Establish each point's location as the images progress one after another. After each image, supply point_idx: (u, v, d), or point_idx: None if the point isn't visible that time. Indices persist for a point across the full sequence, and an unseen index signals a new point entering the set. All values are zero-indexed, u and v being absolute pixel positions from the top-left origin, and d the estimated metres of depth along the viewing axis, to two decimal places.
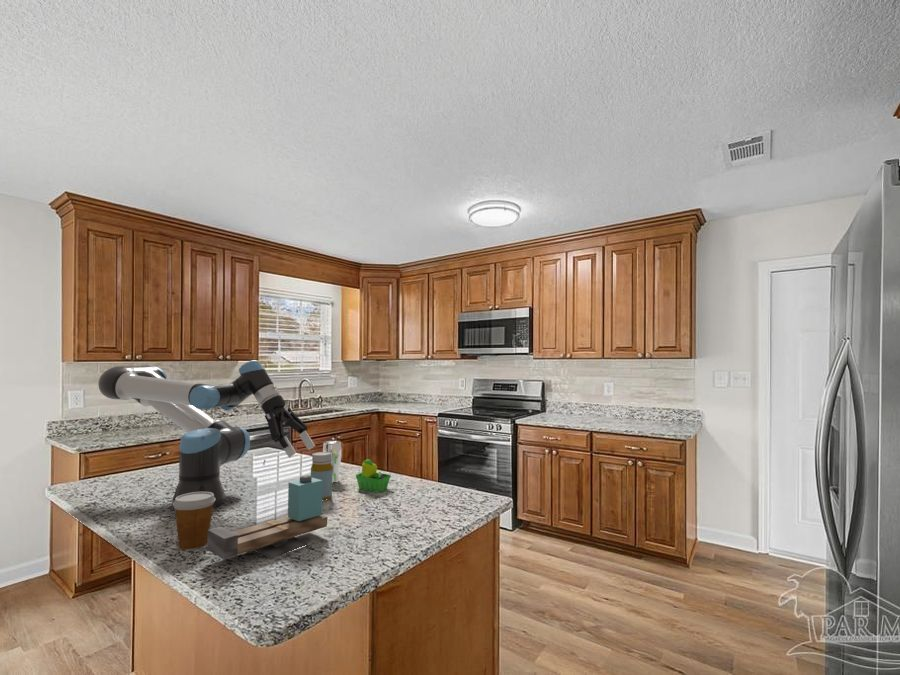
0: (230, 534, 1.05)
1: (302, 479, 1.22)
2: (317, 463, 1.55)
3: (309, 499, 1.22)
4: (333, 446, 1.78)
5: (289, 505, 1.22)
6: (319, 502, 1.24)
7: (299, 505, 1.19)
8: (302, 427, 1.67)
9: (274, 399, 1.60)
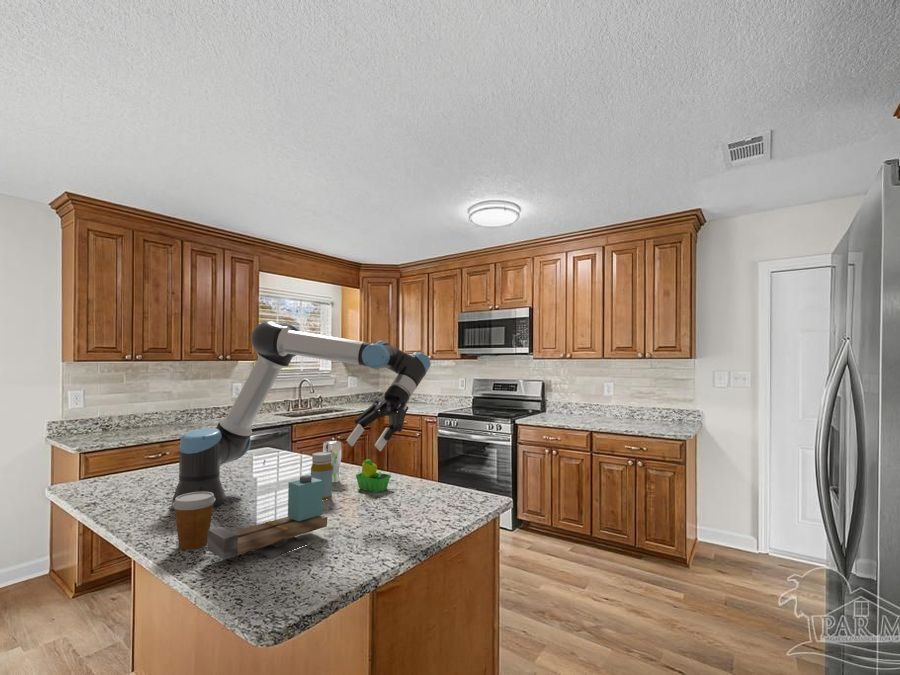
0: (230, 534, 1.05)
1: (302, 479, 1.22)
2: (317, 463, 1.55)
3: (309, 499, 1.22)
4: (333, 446, 1.78)
5: (289, 505, 1.22)
6: (319, 502, 1.24)
7: (299, 505, 1.19)
8: None
9: (407, 400, 1.50)
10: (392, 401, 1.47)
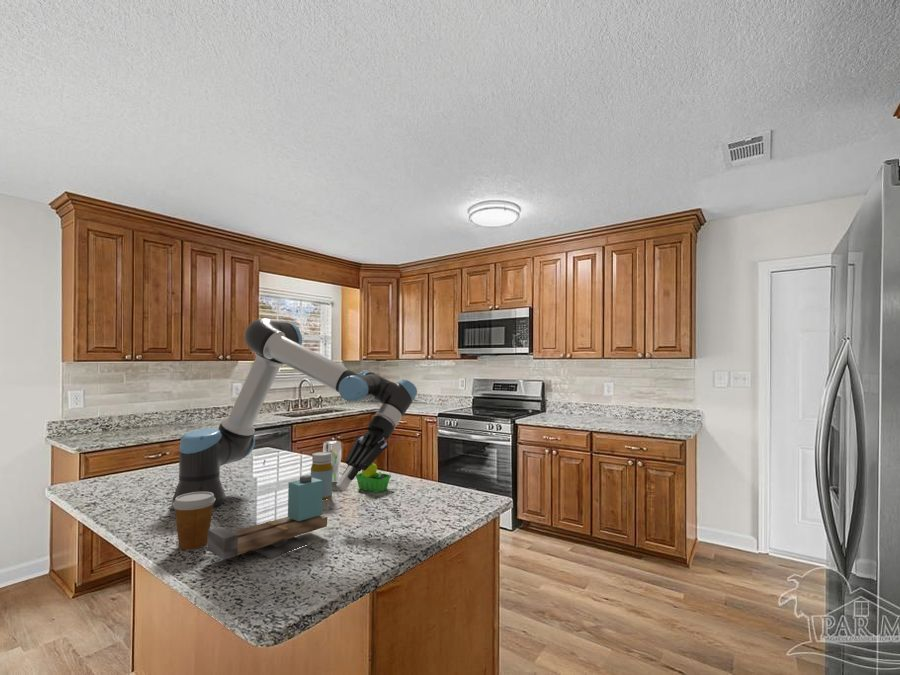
0: (230, 534, 1.05)
1: (302, 479, 1.22)
2: (317, 463, 1.55)
3: (309, 499, 1.22)
4: (333, 446, 1.78)
5: (289, 505, 1.22)
6: (319, 502, 1.24)
7: (299, 505, 1.19)
8: None
9: None
10: (376, 433, 1.41)
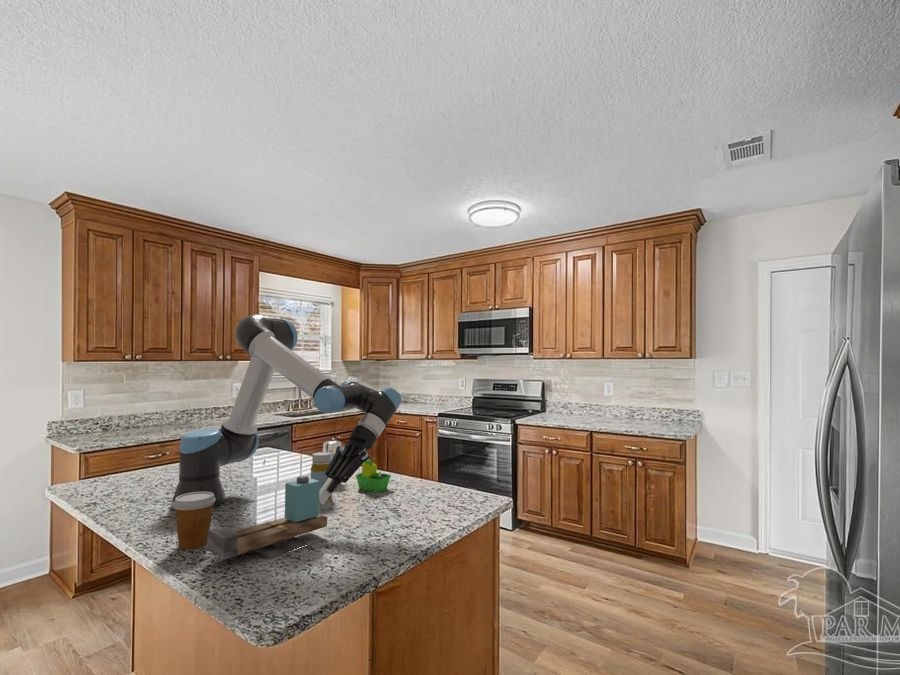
0: (230, 534, 1.05)
1: (299, 480, 1.22)
2: (317, 463, 1.55)
3: (306, 500, 1.21)
4: (333, 446, 1.78)
5: (286, 506, 1.21)
6: (316, 503, 1.23)
7: (296, 505, 1.19)
8: None
9: None
10: (357, 443, 1.36)
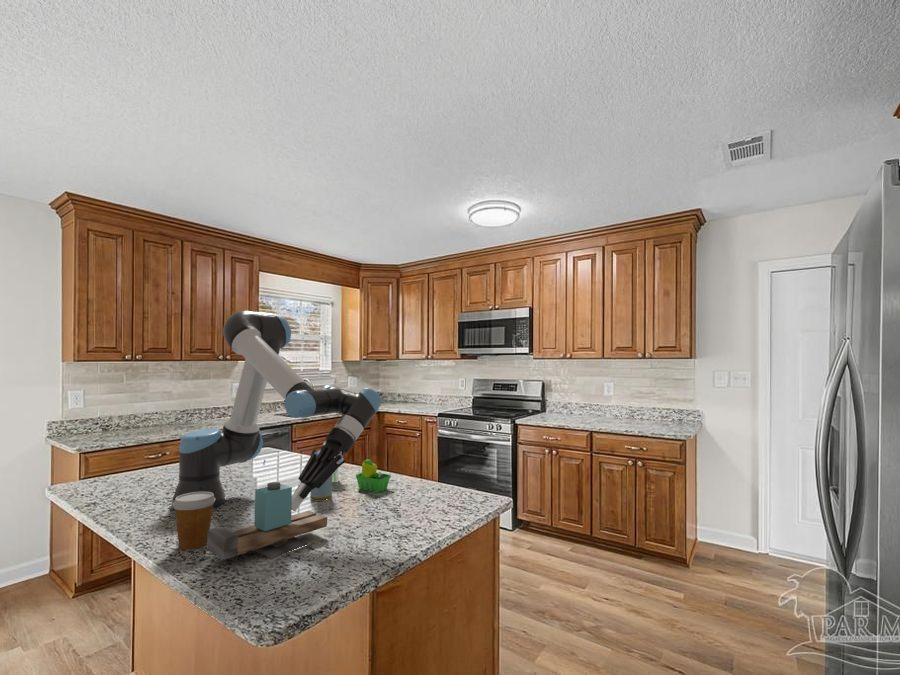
0: (230, 534, 1.05)
1: (270, 486, 1.15)
2: None
3: (276, 507, 1.15)
4: None
5: (256, 514, 1.15)
6: (288, 510, 1.17)
7: (266, 513, 1.12)
8: None
9: (352, 445, 1.32)
10: (333, 446, 1.30)
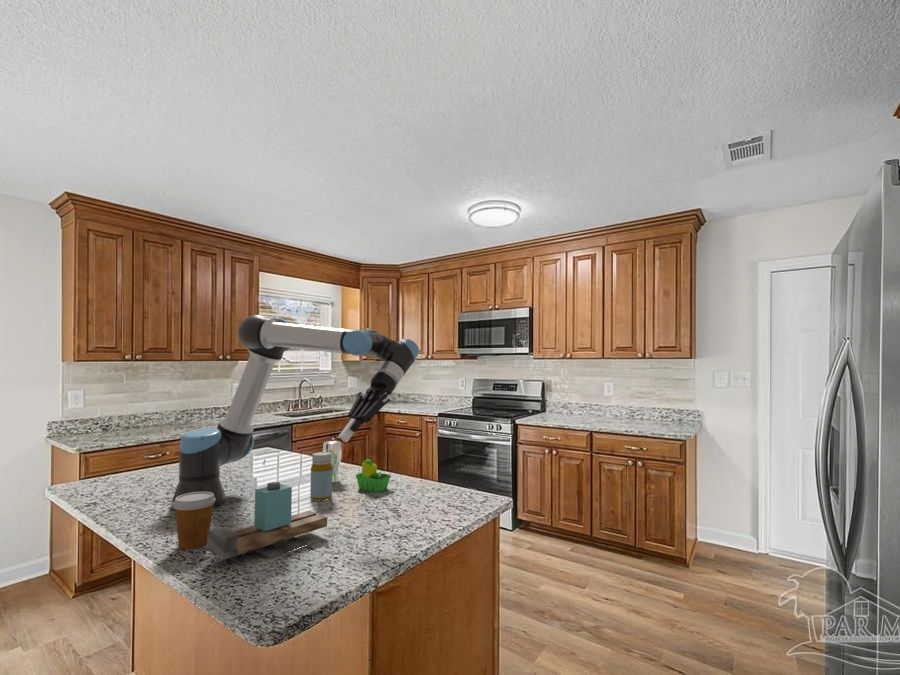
0: (230, 534, 1.05)
1: (269, 486, 1.15)
2: (317, 463, 1.55)
3: (276, 507, 1.15)
4: (333, 446, 1.78)
5: (256, 514, 1.15)
6: (288, 510, 1.17)
7: (266, 513, 1.12)
8: None
9: (394, 388, 1.46)
10: (378, 388, 1.43)
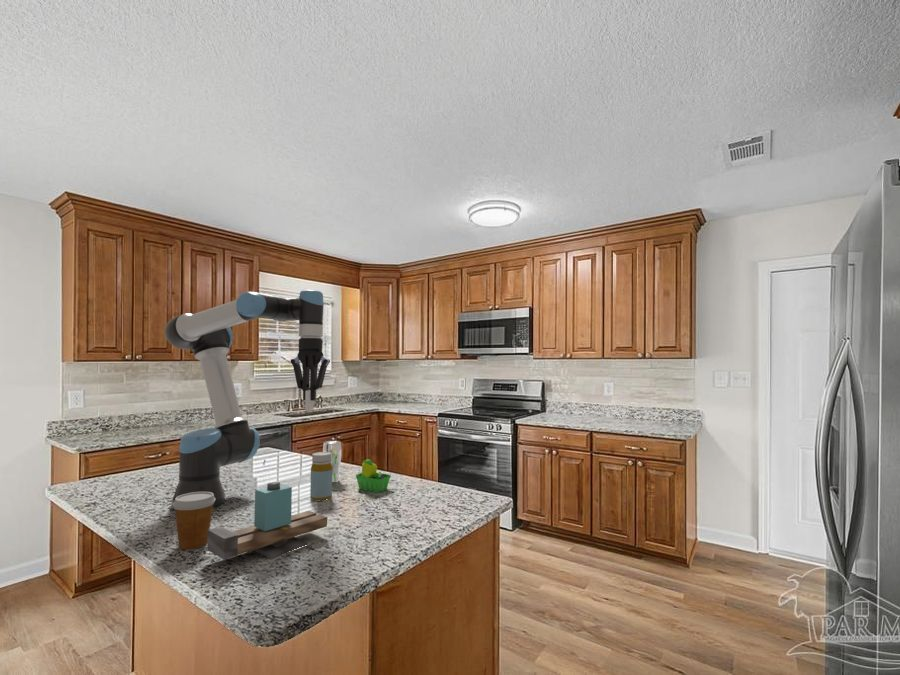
0: (230, 534, 1.05)
1: (269, 486, 1.15)
2: (317, 463, 1.55)
3: (276, 507, 1.15)
4: (333, 446, 1.78)
5: (256, 514, 1.15)
6: (288, 510, 1.17)
7: (266, 513, 1.12)
8: (308, 384, 1.53)
9: None
10: (311, 353, 1.51)
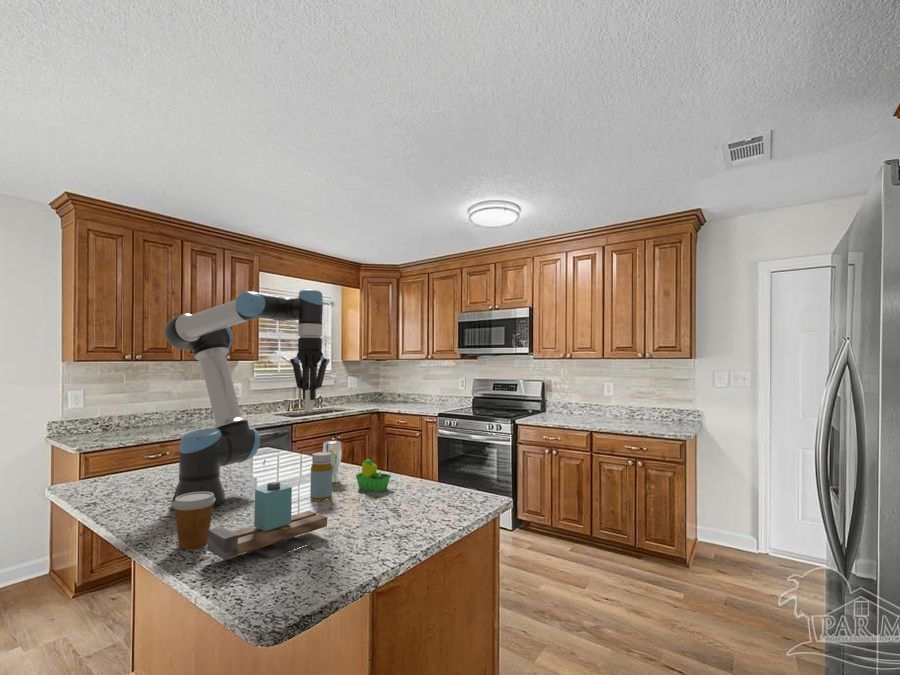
0: (230, 534, 1.05)
1: (269, 486, 1.15)
2: (317, 463, 1.55)
3: (276, 507, 1.15)
4: (333, 446, 1.78)
5: (256, 514, 1.15)
6: (288, 510, 1.17)
7: (266, 513, 1.12)
8: None
9: None
10: (311, 352, 1.51)
